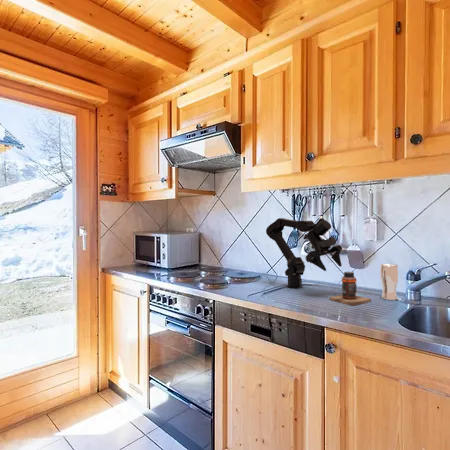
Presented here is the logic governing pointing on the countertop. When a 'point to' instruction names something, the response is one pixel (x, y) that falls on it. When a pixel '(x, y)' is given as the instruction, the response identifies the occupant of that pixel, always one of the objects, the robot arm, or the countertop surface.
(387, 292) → the beer glass
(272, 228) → the robot arm
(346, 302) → the walnut board
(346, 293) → the supplement bottle
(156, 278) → the countertop surface
